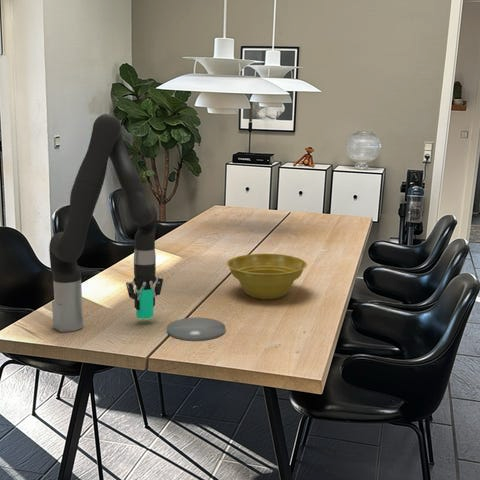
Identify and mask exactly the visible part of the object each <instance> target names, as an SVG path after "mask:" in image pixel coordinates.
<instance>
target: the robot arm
mask: <svg viewBox="0 0 480 480" xmlns="http://www.w3.org/2000/svg"><path fill="white" fill-rule="evenodd" d="M109 159H110V161H111V163H112V166H113V168H114V172H115V174H116V179H118V182H119V185H120V188H121V190H122V192H123V194H124V196H125V198H126V203H127V208H128V212H129V215H130V218H131V220H132V222H134V224H135V225H136V226H137V230H136V233H135V235H134V251H133V277H134V278H133V280H132V281H130V282H129V281H126V283H125V286H126V289H127V293H128V297H129V298H131V299H132V300H134V309H137V310H140V294H141V290H146V289H152V288H153V309H154V308H155V306H156V297H157V296H159V295H161V292H162V287H163V283H164V279H163V278H162V277H159V276H158V277H156V276H157V275H156V273H157V271H156V268H157V267H156V265H157V264H156V261H157V260H156V255H157V254H156V246H155V245H156V238H155V237H156V231H157V225H158V211H157V208H156V207H155V205H153V204H151V203H147V202H146V198H145V194H146V190H145V186H144V185H143V182H142V180H141V178H140V175H139V173H138V171H137V168H136V167H135V165H134V163H133V162H132V159H131V158H130V156H129V153H128V150H127V148H126V145H125V142H124V139H123V134H122V125H121V122H120V121H119V119H118V118H117V117H116V116H115V115H113V114H111V113H104V114H103V113H102V114H101V115H99V116H97V118H96V119H95V120H94V122H93V125H92V130H91V136H90V139H89V143H88V147H87V151H86V153H85V155H84V158H83V159H82V162H81V164H80V166H79V168H78V171H77V174H76V176H75V179H74V181H73V185H72V187H71V192H70V197H69V213H68V215H69V216H68V220H67V222H66V226H65V228H64V231H59V232H57V233H55V234H54V235H53V236H52V237H51V239H50V241H49V246H48V247H49V249H48V251H49V263H50V271H51V273H52V280H53V296H54V297H53V299H54V300H52V301H51V306H52V307H51V308H52V324H53V325H52V326H53V329H55V330H57V331H58V332H59V333H64V332H65V333H66V332H69V333H70V332H75V331H79V330H81V329H83V327H84V316H83V314H84V313H83V293H82V292H83V291H82V271H81V269H80V267H79V265H78V264H79V263H78V260H79V258H80V257H81V256H82V254H83V251H84V248H85V243H86V238H87V235H88V230H89V225H90V224H91V220H92V218H93V215H94V212H95V208H96V206H97V203H98V200H99V197H100V195H101V193H102V188H103V187H104V186H103V185H104V183H105V178H106V174H107V166H108V162H109ZM154 284H155V286H154ZM134 288H135V289H134ZM136 288H138V289H139V290H140V291H137V290H136ZM137 293H138V295H137Z"/></svg>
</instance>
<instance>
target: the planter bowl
mask: <svg viewBox="0 0 480 480" xmlns="http://www.w3.org/2000/svg"><path fill="white" fill-rule="evenodd" d="M226 266H227V267H228V268H229V270H230V273H231V275H232V277H234V279H236V280H238V281H239V284H240V286H241V288H242V290H243V291H244V292H245V293H246V294H247V295H248V296H250V297H251V298H254V299H257V300H275V299H280V298H282V297H283V296H285V295H287V293H288V292H289V290H290V289H291V287H292V286H293V284H294V282H295V281H296V280H298V279H299V278H300V277H301V276H302V273H303V271H304V269H306V267H307V266H308V264H307V261H305V260H304V259H302V258H299V257H296V256H292V255H287V254H280V253H250V254H243V255H240V256H239V255H238V256H235V257H232V258H230V259H228V260H227V261H226Z"/></svg>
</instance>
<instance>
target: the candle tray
mask: <svg viewBox="0 0 480 480" xmlns="http://www.w3.org/2000/svg"><path fill="white" fill-rule="evenodd" d="M166 333H167V334H168V335H169V337H172V338H173V339H177V340H182V341H187V342H188V341H190V342H198V341H209V340H214V339H216V338H219V337H222V336H223V335H224V334H225V333H226V324H224V323H223V322H222V321H219V320H217V319H214V318H208V317H186V318H185V317H184V318H180V319H176V320H173V321H171V322H170V323H168V325H167V326H166Z"/></svg>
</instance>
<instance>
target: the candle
mask: <svg viewBox="0 0 480 480" xmlns="http://www.w3.org/2000/svg"><path fill="white" fill-rule="evenodd" d="M135 289H136V290H137V291H140V290H139V289H138V288H136V287H135ZM137 295H138V293H137ZM135 309H136V308H135ZM135 311H136V318H138V319H141V320H144V319H145V320H146V319H151V318H152V319H153V317H154V308H153V288H152V289H146V290H141V294H140V310H137V309H136V310H135Z"/></svg>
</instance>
